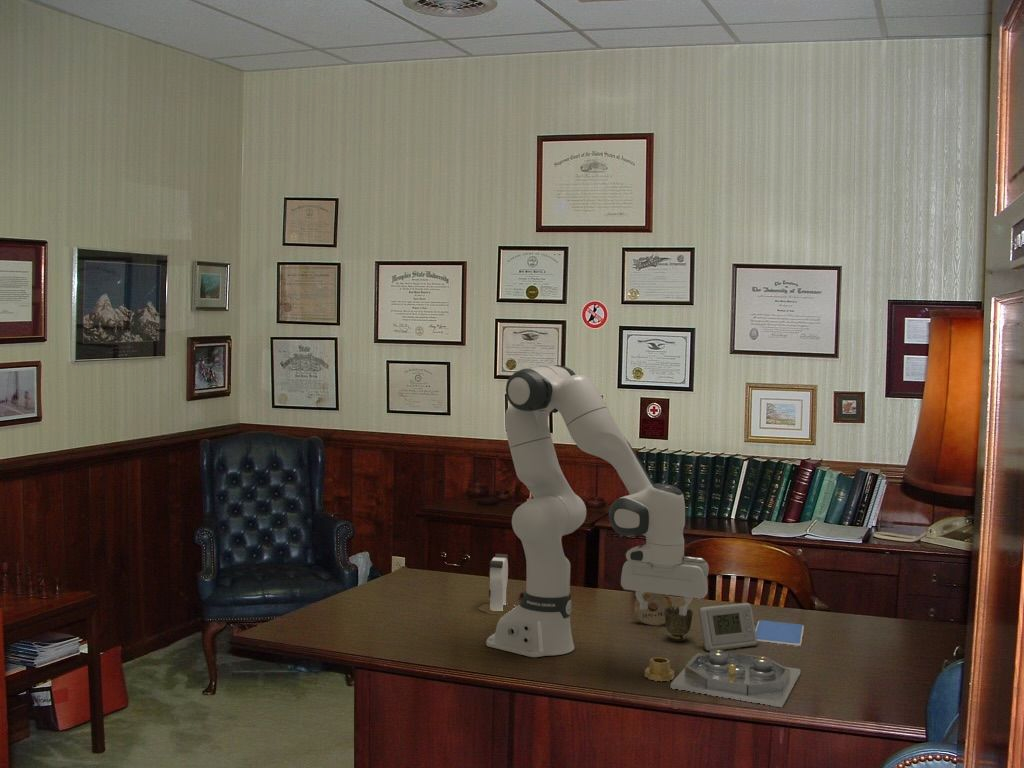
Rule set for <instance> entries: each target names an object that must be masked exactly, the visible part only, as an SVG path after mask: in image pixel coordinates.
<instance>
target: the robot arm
mask: <svg viewBox="0 0 1024 768" xmlns="http://www.w3.org/2000/svg"><path fill="white" fill-rule="evenodd" d="M505 395H506V398H507V400H508V402H509V404H510V405H509V406H508V407H507V409H506V411H505V414H504V417H505V418H504V420H505V429H506V437H507V442H508V447H509V449H510V454H511V458H512V463H513V466H514V470H515V473H516V476H517V478H518V480H519V481H520V482H522V483H523V484H524V485H525V486H526V488H527V489H528V491H529V492H530V494H531V496H532V498H531V499H528V500H526V501H525V502H523V503H522V504H520V505H519V506H518V507H516V509H515V510H514V511H513V514H512V517H511V526H512V530H513V532H514V534H515V535H516V537H517V538H518V539H519V540H520V541H521V544H522V547H523V550H524V555H525V560H526V561H525V562H526V583H525V584H526V588H524V589H523V591H522V592H520V593H519V594H518V595H517V596H516V597H517V598H516V601H519V604H518V605H515V606H516V607H515V608H513V609H512V610H511V611H509V612H508V613H506V614H504V615H502V616H501V617H500V618H499V620H498V621H497V624H496V629H495V632H494V633H492V634H491V635H490V636H488V638H487V639H486V642H485V645H486V646H487V647H489V648H494V649H497V650H501V651H505V652H509V653H514V654H517V655H521V656H522V655H523V656H526V657H530V658H539V657H545V656H560V655H561V656H562V655H565V654H568V653H571V652H573V651H574V650H575V644H574V640H573V636H572V635H573V634H572V628H571V627H572V626H571V614H572V593H571V591H570V589H571V562H570V560H569V559H568V558H567V557H566V555H565V553H564V549H563V544H562V537H563V536H567V535H569V534H572V533H574V532H575V531H576V530H578V529H579V528H580V527H581V526H582V525H583V523H584V522H585V520H586V517H587V506H586V504H585V501H583V499H582V498H581V497H580V496H579V495H578V494H576V493H575V492H574V490H573V489H572V487H571V486H570V484H569V482H568V480H567V479H566V477H565V475H564V472H563V471H562V469H561V465H560V463H559V460H558V457H557V456H558V455H557V452H556V449H555V446H554V441H553V437H552V435H551V431H550V428H549V422H548V421H549V420H548V418H549V415H550V413H554V414H556V413H558V412H559V413H560V415H561V417H562V419H563V422H564V424H565V426H566V428H567V430H568V433H569V435H570V437H571V439H572V440H573V442H574V443H575V445H576V446H577V447H578V448H579V450H581V451H582V452H584V453H586V454H589V455H592V456H594V457H598V458H600V459H602V460H605V461H606V462H608V463H609V464H610V465H612V467H613V468H614V469H615V470H616V473H617V475H618V476H619V478H620V480H621V481H622V483H623V484H624V487H625V488H626V489H627V491H628V495H624V496H622V497H619V498H617V499H615V500H614V501H613V502H612V503H611V505H610V508H609V511H608V518H609V522H610V525H611V527H612V529H613V530H614V531H615V532H616V533H617V534H618V535H620V536H623V537H625V536H626V537H635V536H644V537H645V538H646V539H645V540H646V543H645V544H643V545H637V546H634V547H631V548H630V549H628V550H627V551H626V553H625V558H626V561H625V562H624V563H623V565H622V569H621V570H622V571H621V575H620V586H621V587H622V588H623V590H624V591H625V590H628V591H633V592H635V594H634V595H635V597H636V598H637V599H638V601H639V603H640V610H645V611H646V610H647V609H648V606H647V605H648V602H645V601H644V599H643V597H642V594H643V593H644V592H649V593H657V594H666V595H669V596H674V597H681V598H682V597H683V601H684V602H685V604H684V605H683V606H682V605H680V606H679V611H680V612H679V615H683V616H686V615H687V610H688V607H689V605H690V604H691V603H692V601H693V599H699V600H702V599H704V598H705V597H706V596H707V595H708V591H709V588H708V575H709V574H710V566H709V563H708V561H706V560H705V559H704V558H702V557H693V556H686V555H685V538H684V528H685V526H686V503H685V497H684V494H683V492H682V490H681V489H680V488H678V487H677V486H674V485H671V484H668V483H660V482H659V483H657V482H656V483H654V482H653V481H652V479H651V478H650V476H649V474H648V472H647V470H646V469H645V467H644V465H643V463H642V462H641V460H640V458H639V457H638V455H637V453H636V452H635V450H634V448H633V447H632V445H631V443H630V442H629V441H628V439H627V438H626V437H625V435H624V434H623V433H622V431H621V430H620V428H619V426H618V425H617V424H616V421H615V420H614V418H613V416H612V414H611V412H610V409H609V408H608V406H607V404H606V401H605V400H604V398H603V397H602V395H601V393H600V392H599V390H598V388H597V387H596V385H595V384H594V383H593V381H592V380H591V379H590V377H588V376H586V375H584V374H576V373H575V371H573V369H571V368H569V367H567V366H564V365H560V364H559V365H557V364H556V365H555V364H554V365H539V366H535V367H531V368H522V369H519V370H517V371H515V372H514V373H512V374H511V375H510V377H509V378H508V379H507V382H506V384H505Z"/></svg>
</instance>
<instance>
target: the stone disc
mask: <svg viewBox="0 0 1024 768" xmlns="http://www.w3.org/2000/svg"><path fill="white" fill-rule="evenodd" d="M642 597H643V599H644V601H645V602H648V605H647V606H648V609H647V610H646V611H645V610H640V603H639V601H638V599H637V597H636V598H635V603H634V608H633V609H634V614H635V616H636V618H637V619H638V621H640V622H641V623H642V624H645V625H649V626H652V625H653V626H663V625H664V624H665V612H664V611H665V608H666V609H667V607H670V608H671V609H672V607H673V604H672V603H673V602H672V600H671V597H670V595H666V594H657V593H649V592H644V593H643V594H642ZM650 604H656V605H657V608H655V609H653V608H652V607H650Z"/></svg>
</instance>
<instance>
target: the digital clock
mask: <svg viewBox="0 0 1024 768" xmlns="http://www.w3.org/2000/svg"><path fill="white" fill-rule="evenodd" d="M698 614H699V621H700V627H701V635H702V639H703V647H704V649H705V650H706V651H709V652H710V651H711V650H716V649H720V650H723V651H726V649H729V650H735V649H734V648H737V649H741V648H740V647H746V648H747V647H753V646H756V645H758V642H757V637H756V631H755V630H756V625H755V621H754V614H753V609H752V606H751V603H749V602H743V603H738V602H737V603H736V602H735V603H728V604H727V603H726V604H719V605H718V604H716V605H711V606H703V607H700V608H699V610H698Z"/></svg>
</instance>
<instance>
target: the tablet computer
mask: <svg viewBox="0 0 1024 768" xmlns="http://www.w3.org/2000/svg"><path fill="white" fill-rule="evenodd" d="M804 630H805V625H803V624H799V623H790V622H782V621H781V622H780V621H771V620H762V619H761V620H758V621H757V623H756V625H755V631H756V637H757V641H760V642H759V643H763V642H770V643H769V644H772V643H777V644H776V645H780V644H787V645H786V646H789V645H794V646H793V647H797V646H800V647H801V646H802V645H801V644H802V643H803V638H804V637H803V636H804ZM802 637H803V638H802Z"/></svg>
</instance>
